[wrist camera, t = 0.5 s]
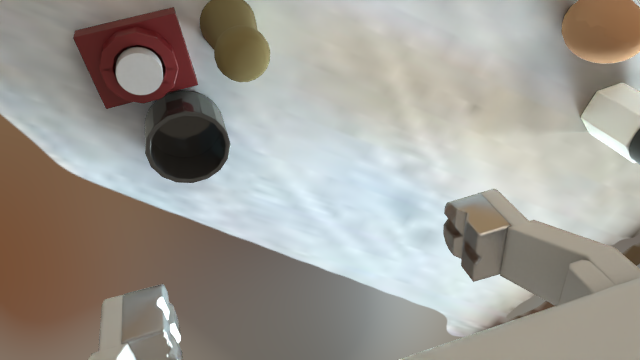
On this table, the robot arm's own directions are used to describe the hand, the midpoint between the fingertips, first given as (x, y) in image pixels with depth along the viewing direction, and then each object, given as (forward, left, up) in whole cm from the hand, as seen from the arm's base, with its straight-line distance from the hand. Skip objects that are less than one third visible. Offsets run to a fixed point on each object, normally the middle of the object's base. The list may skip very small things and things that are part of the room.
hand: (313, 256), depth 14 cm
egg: (+18, +47, -45) cm, 68 cm away
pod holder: (+19, -6, -45) cm, 49 cm away
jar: (+35, +56, -45) cm, 80 cm away
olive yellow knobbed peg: (+8, +2, -45) cm, 46 cm away
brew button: (+9, -8, -41) cm, 43 cm away
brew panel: (+9, -8, -45) cm, 46 cm away
